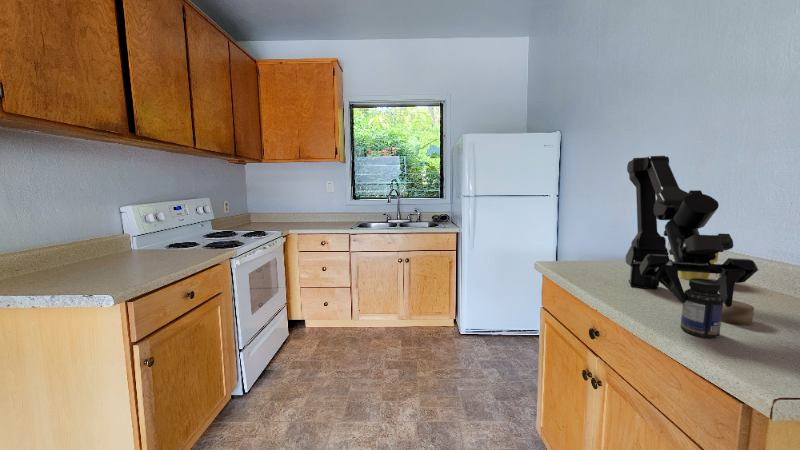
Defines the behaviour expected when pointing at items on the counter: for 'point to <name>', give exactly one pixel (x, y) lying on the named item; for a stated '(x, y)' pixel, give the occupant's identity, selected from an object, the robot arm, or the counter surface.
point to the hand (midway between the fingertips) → (706, 304)
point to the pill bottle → (702, 308)
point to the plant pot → (695, 274)
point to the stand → (737, 313)
